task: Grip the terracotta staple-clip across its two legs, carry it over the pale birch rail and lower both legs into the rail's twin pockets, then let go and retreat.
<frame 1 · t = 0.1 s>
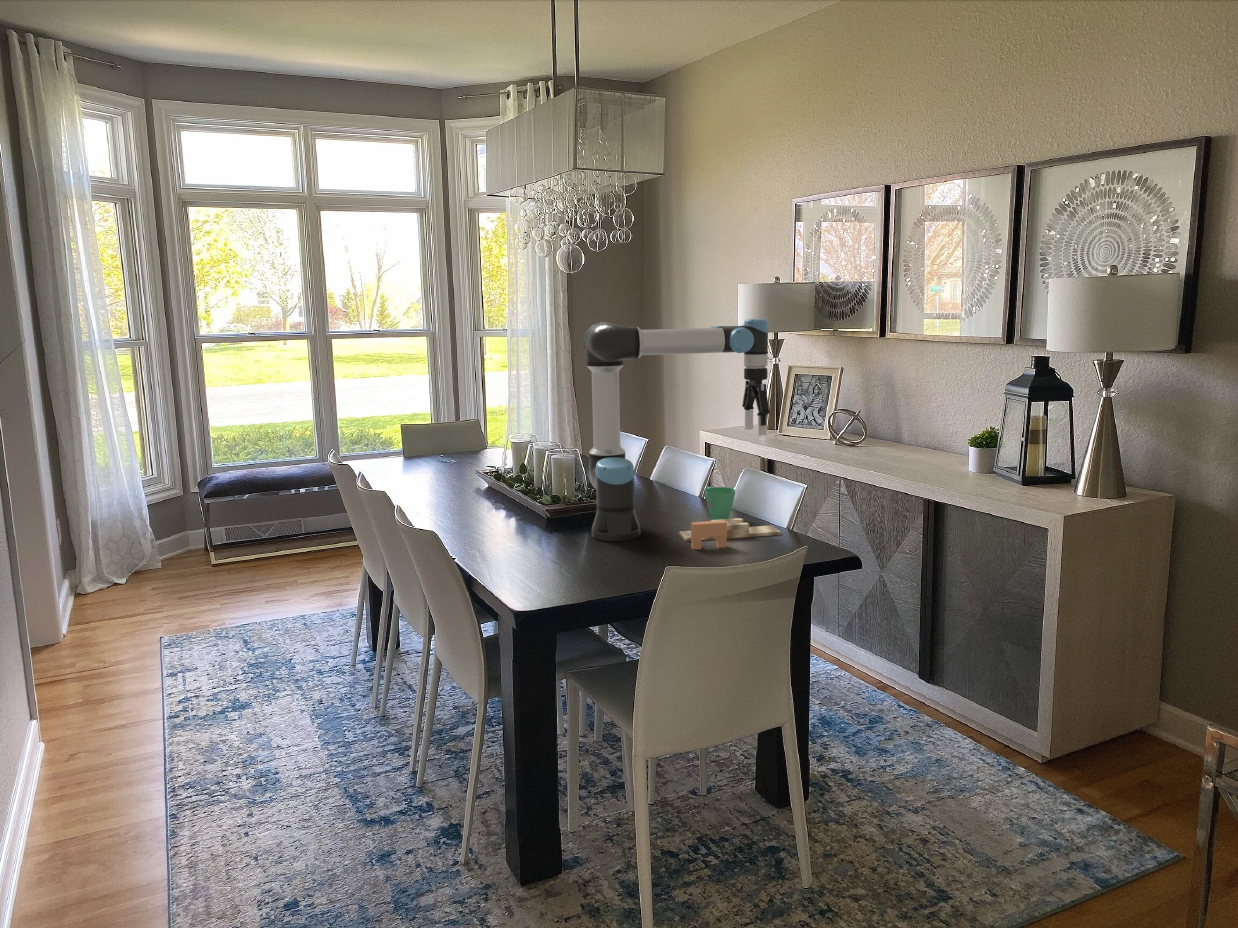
hand: (755, 432, 302), 28 cm above the table, fingers open, 13 cm apart
clip: (708, 547, 270), on the table
rail: (729, 534, 284), on the table
green tapered cup: (716, 518, 304), on the table
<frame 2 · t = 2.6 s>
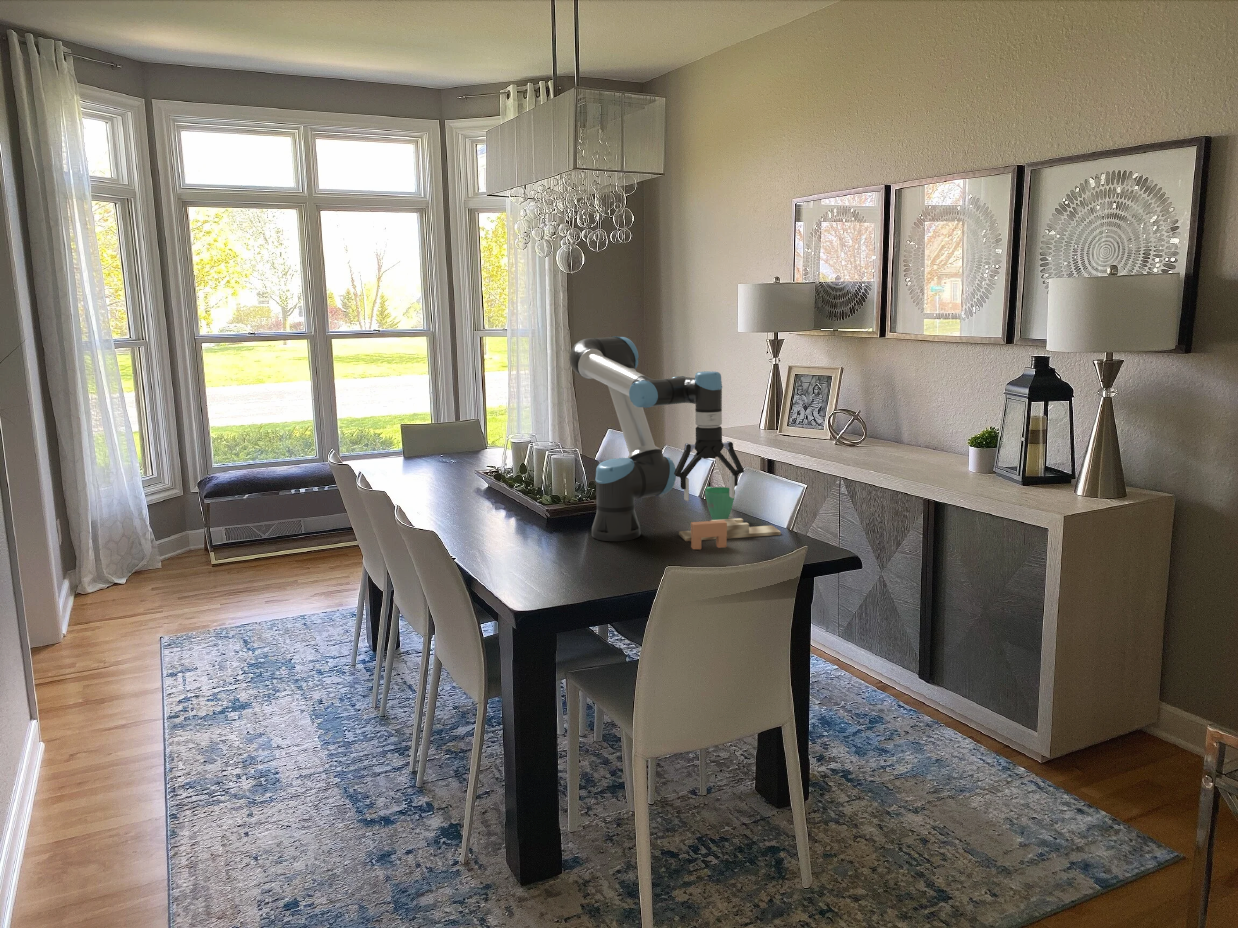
hand: (709, 498, 267), 15 cm above the table, fingers open, 13 cm apart
nothing on the table moved.
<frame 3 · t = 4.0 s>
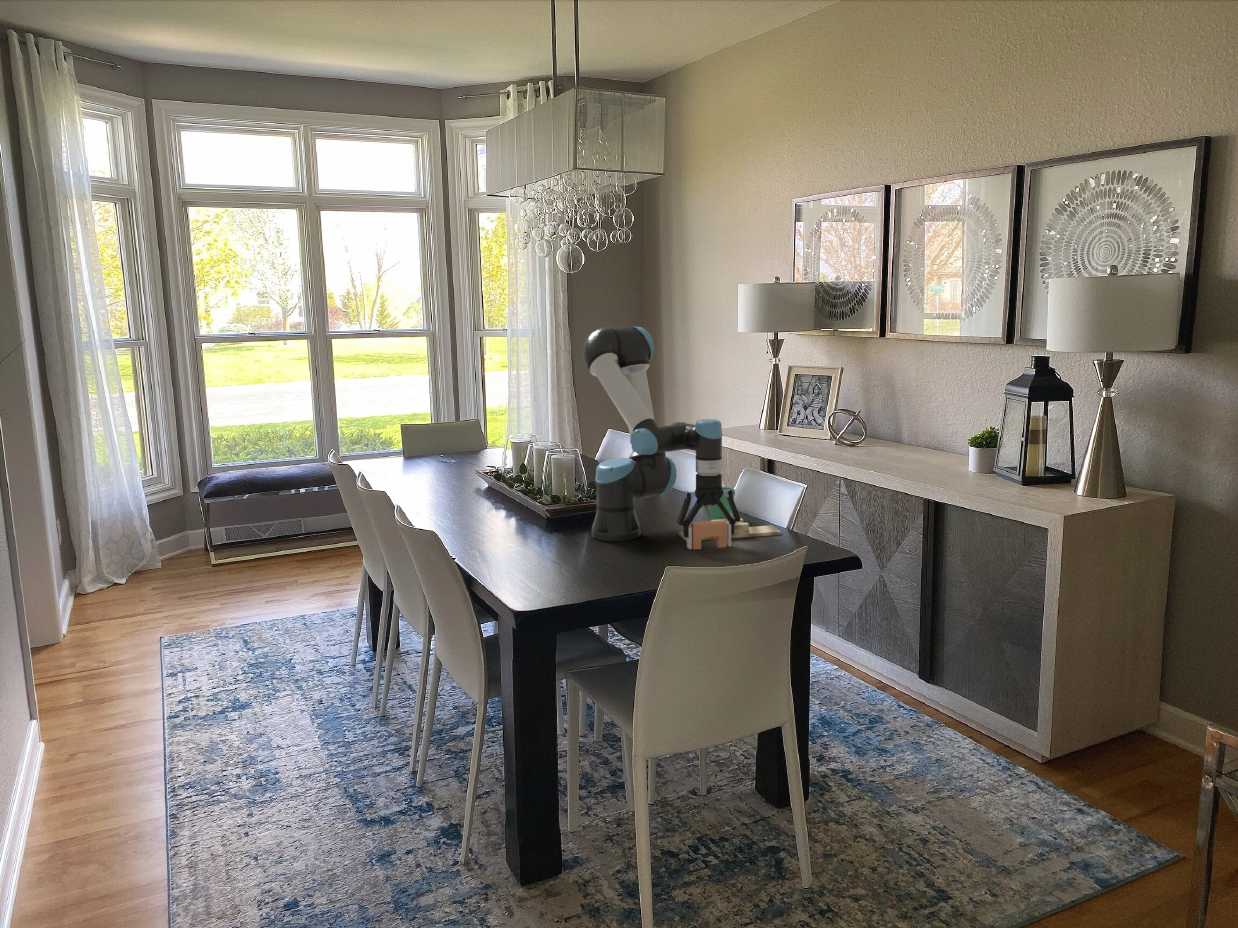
hand: (708, 546, 270), 0 cm above the table, fingers open, 11 cm apart
nothing on the table moved.
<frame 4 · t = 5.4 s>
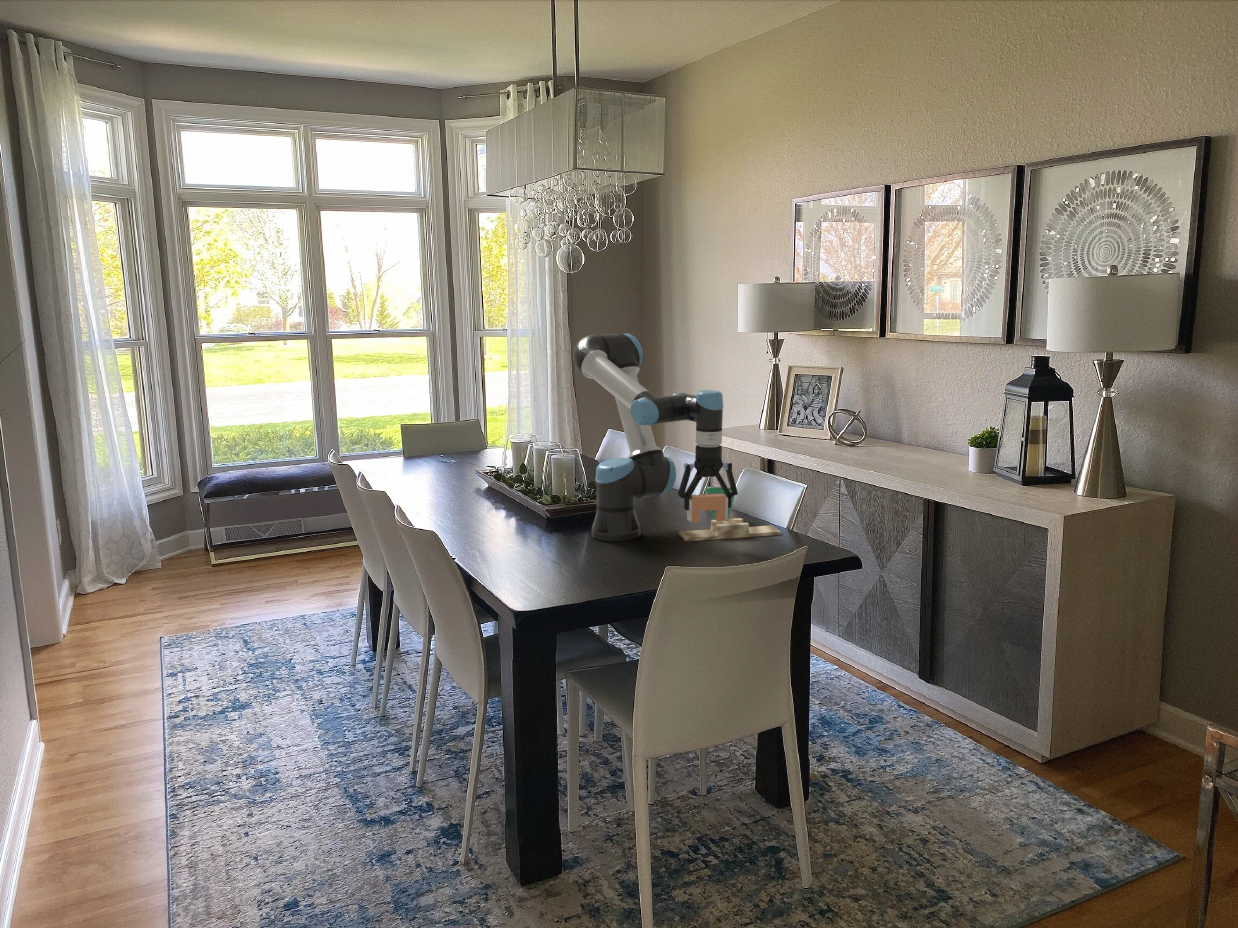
hand: (707, 519, 269), 8 cm above the table, fingers closed on clip, 10 cm apart
clip: (707, 520, 269), point 8 cm above the table, touching gripper
everything else where it was.
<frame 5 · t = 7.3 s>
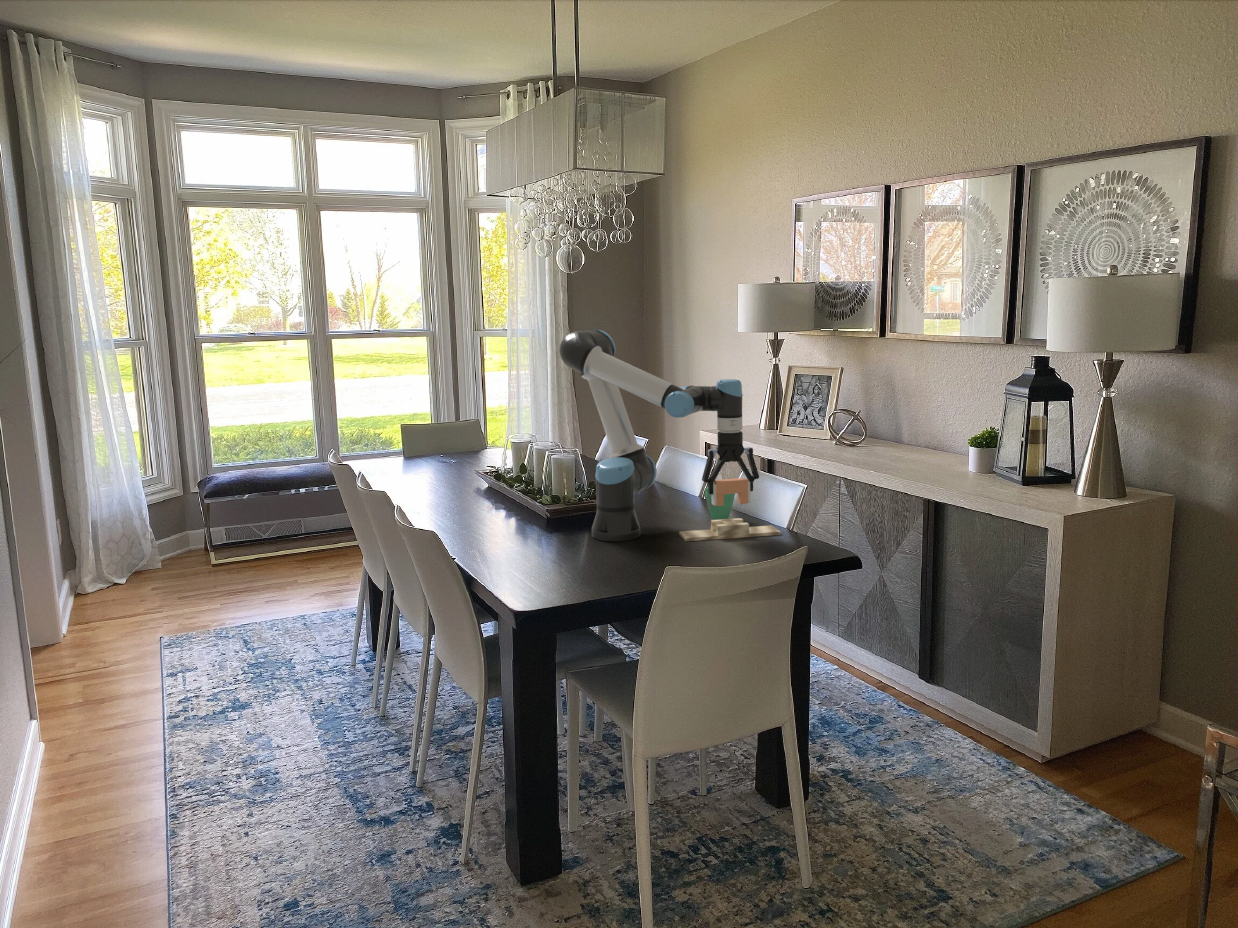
hand: (730, 503, 282), 10 cm above the table, fingers closed on clip, 10 cm apart
clip: (730, 503, 282), point 10 cm above the table, touching gripper
everything else where it was.
when the fingers open (2 cm above the table, at t = 9.2 s): clip stays where it is, resting on rail.
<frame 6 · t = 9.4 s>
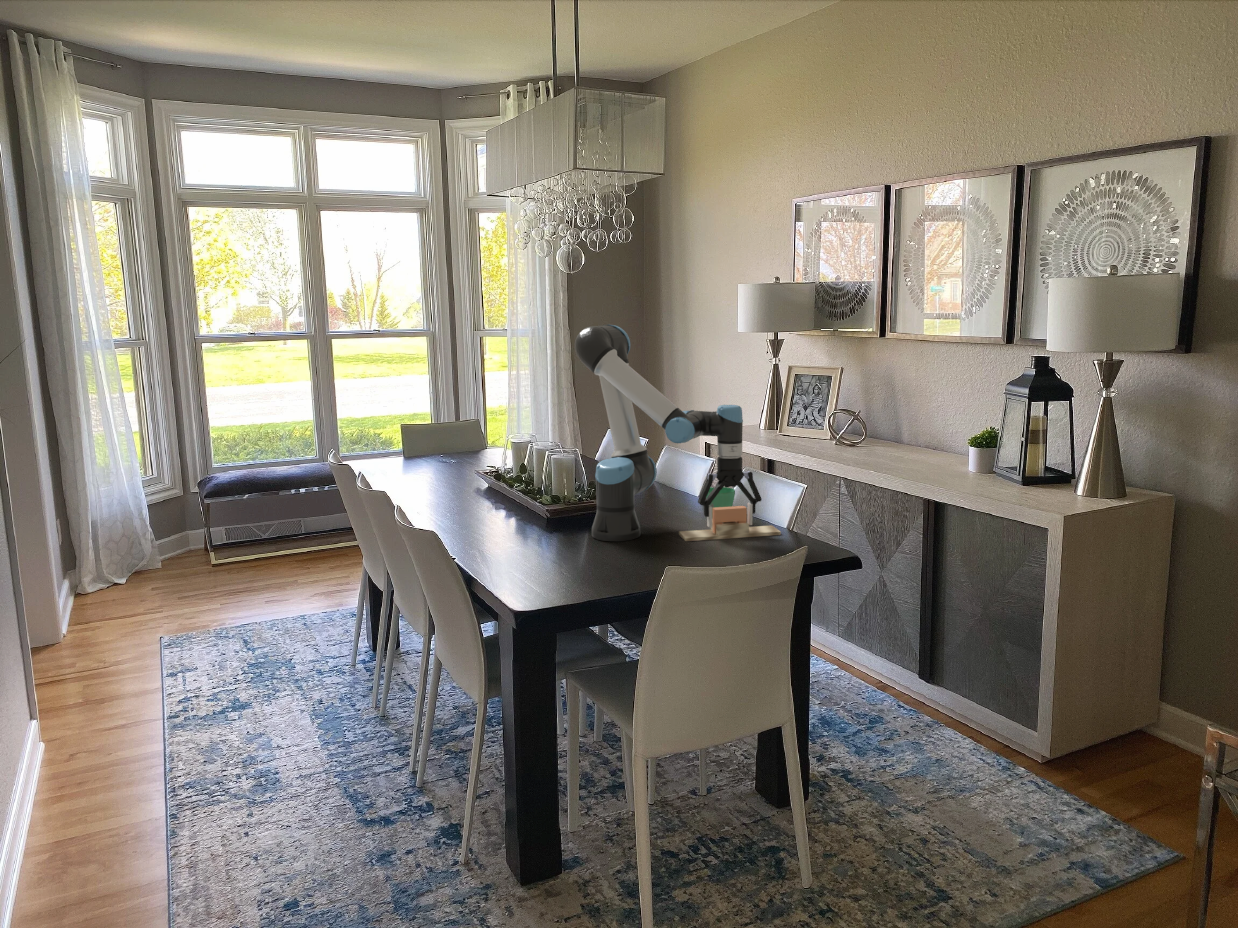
hand: (729, 525, 283), 3 cm above the table, fingers open, 12 cm apart
clip: (729, 531, 283), point 1 cm above the table, touching rail
everything else where it was.
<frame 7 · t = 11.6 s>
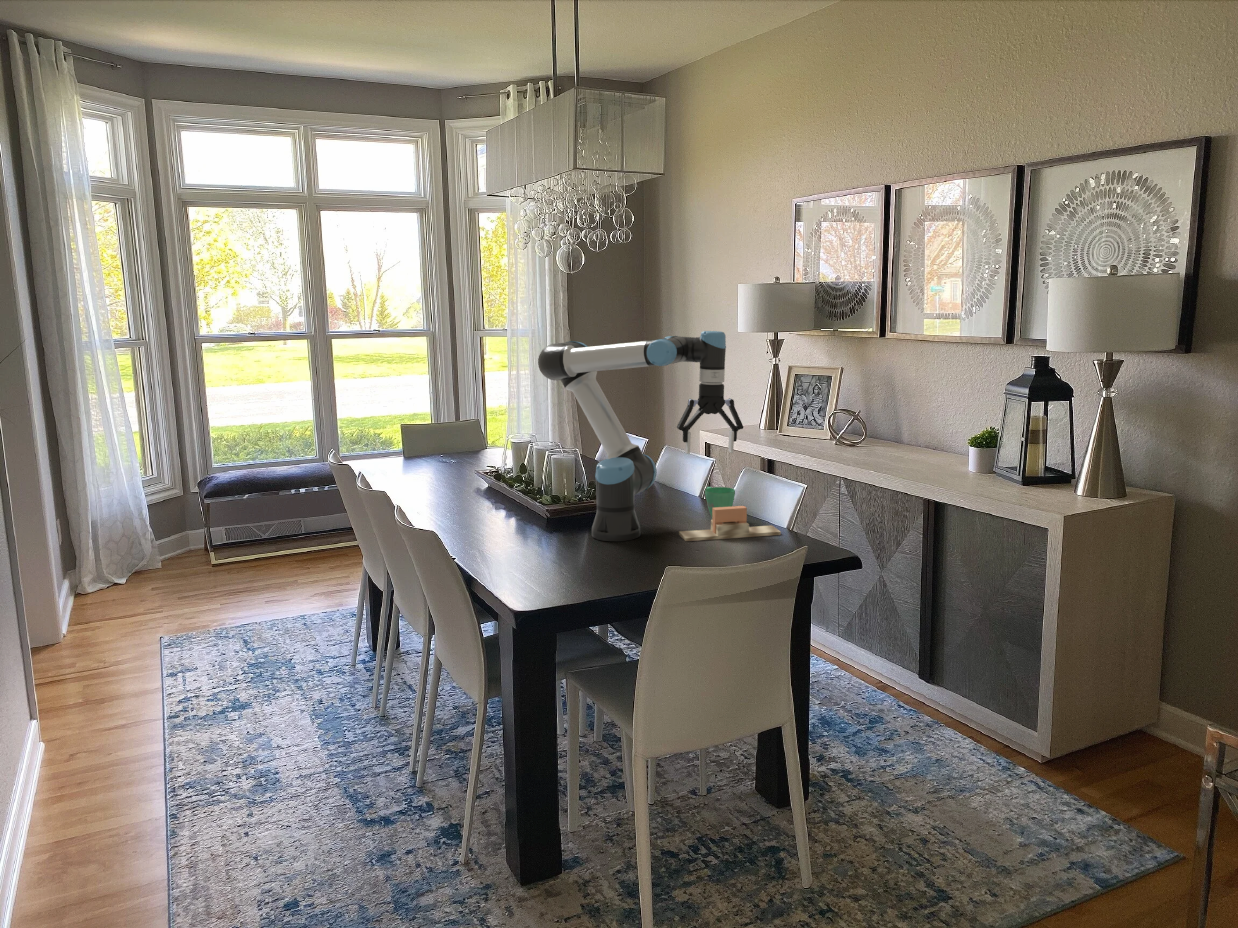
hand: (709, 452, 282), 25 cm above the table, fingers open, 13 cm apart
nothing on the table moved.
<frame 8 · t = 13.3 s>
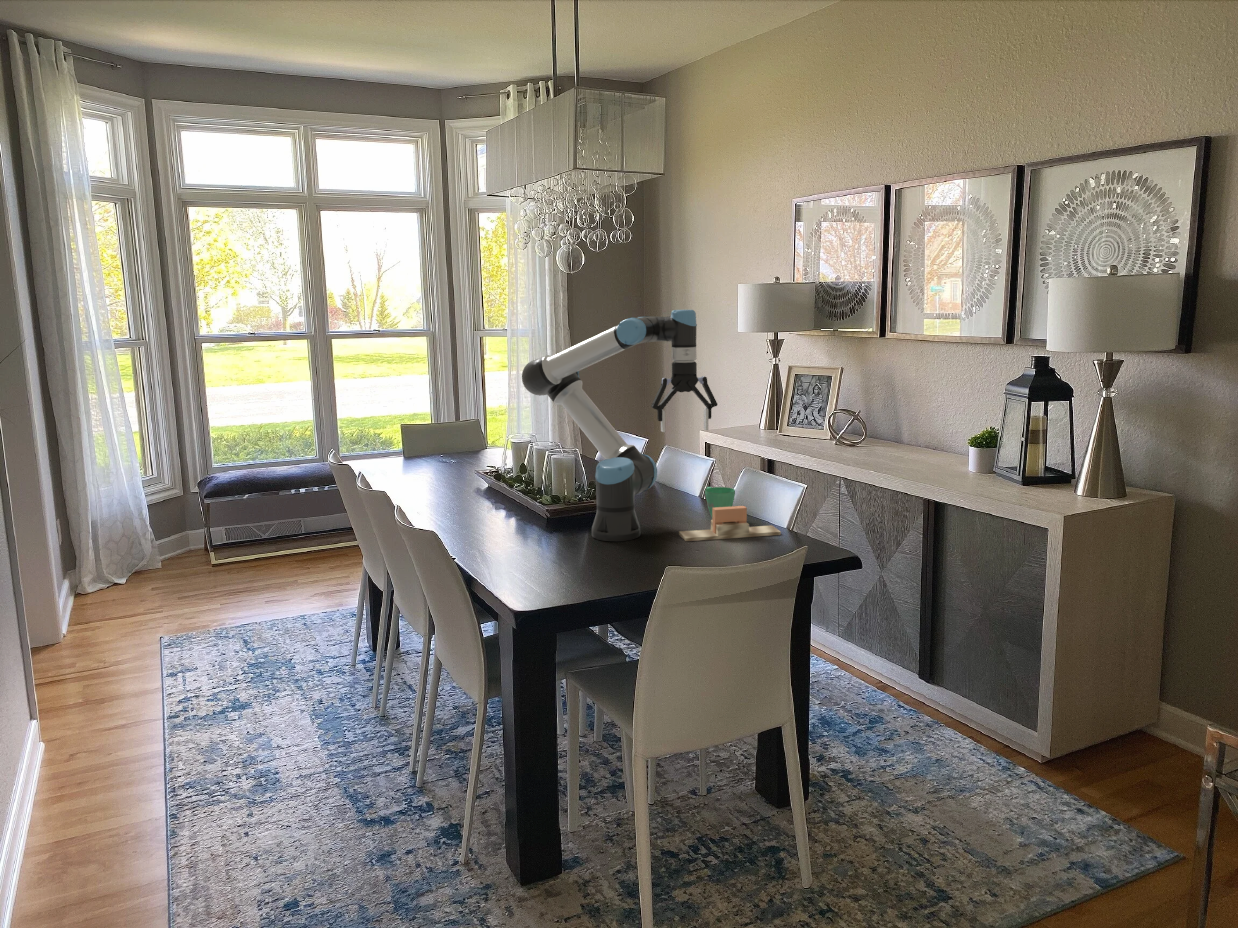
hand: (684, 430, 283), 32 cm above the table, fingers open, 13 cm apart
nothing on the table moved.
at the end: clip 0.1 cm off-centre on the rail, point 1.0 cm above the rail's base; clip tilted 0°; the gripper is holding nothing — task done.
